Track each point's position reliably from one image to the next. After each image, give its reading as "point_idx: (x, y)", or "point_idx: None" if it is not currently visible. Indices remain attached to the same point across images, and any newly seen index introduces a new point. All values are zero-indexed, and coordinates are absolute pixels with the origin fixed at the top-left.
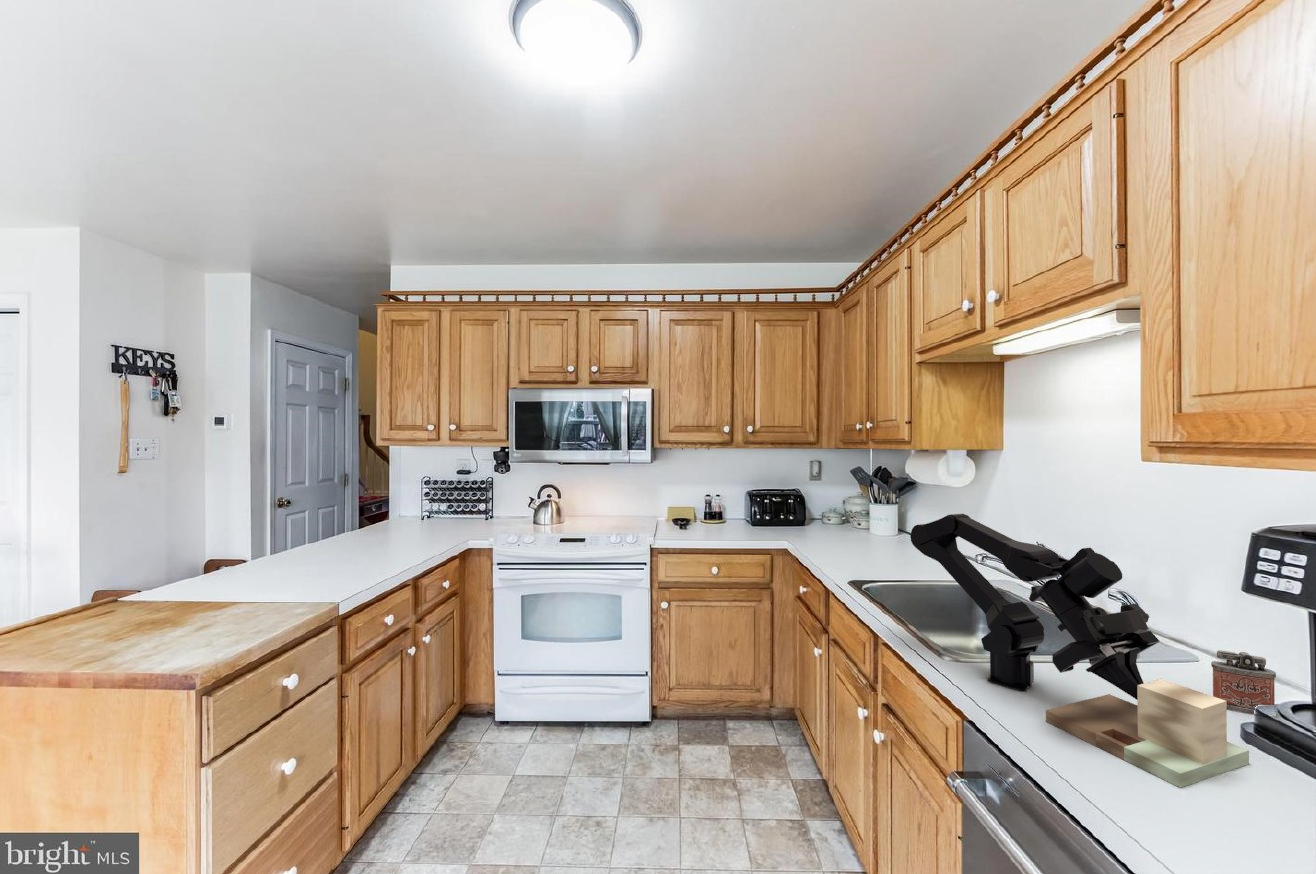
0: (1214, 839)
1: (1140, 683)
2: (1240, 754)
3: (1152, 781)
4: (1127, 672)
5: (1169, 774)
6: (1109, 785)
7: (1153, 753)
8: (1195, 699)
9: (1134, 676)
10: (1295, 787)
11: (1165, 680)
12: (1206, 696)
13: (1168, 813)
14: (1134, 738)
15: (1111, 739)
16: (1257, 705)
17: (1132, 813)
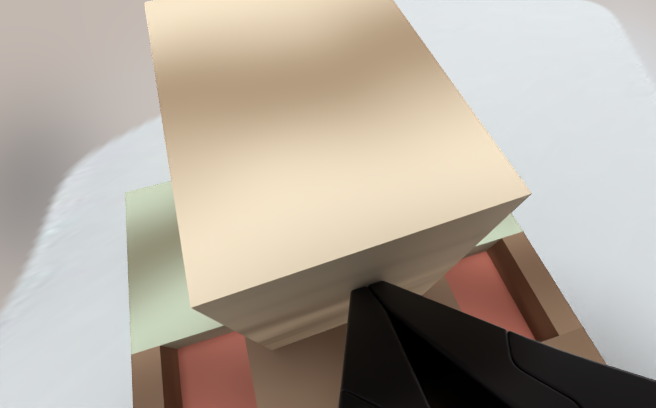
0: (491, 28)
1: (385, 339)
2: None
3: None
4: (538, 385)
5: None
6: (607, 152)
7: None
8: (300, 17)
9: (422, 389)
10: (161, 127)
11: (189, 266)
12: (190, 40)
13: (527, 76)
14: (446, 281)
15: (541, 279)
16: None
17: (601, 78)
